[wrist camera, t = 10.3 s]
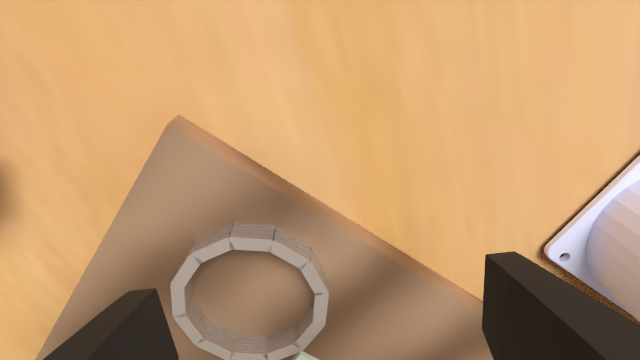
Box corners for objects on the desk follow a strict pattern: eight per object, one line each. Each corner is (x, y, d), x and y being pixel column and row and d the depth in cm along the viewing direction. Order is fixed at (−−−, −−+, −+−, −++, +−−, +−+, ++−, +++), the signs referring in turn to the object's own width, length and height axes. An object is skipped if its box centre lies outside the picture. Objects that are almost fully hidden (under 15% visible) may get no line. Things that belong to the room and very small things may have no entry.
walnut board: (534, 333, 23) (548, 354, 22) (362, 484, 28) (365, 509, 27) (178, 114, 18) (167, 124, 17) (46, 347, 23) (29, 369, 22)
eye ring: (355, 271, 19) (358, 288, 18) (276, 364, 22) (274, 383, 21) (225, 196, 18) (219, 209, 17) (154, 304, 20) (144, 321, 19)
